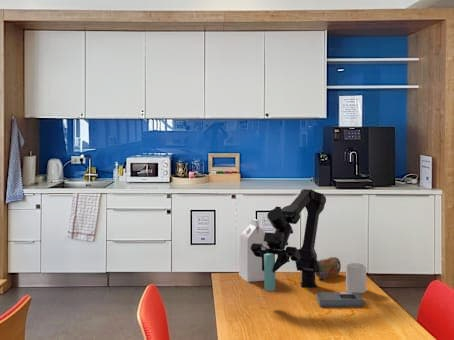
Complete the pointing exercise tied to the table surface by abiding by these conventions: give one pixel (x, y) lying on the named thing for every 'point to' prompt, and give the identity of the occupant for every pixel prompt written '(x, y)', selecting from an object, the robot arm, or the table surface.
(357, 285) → the mug
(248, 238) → the milk
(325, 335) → the table surface
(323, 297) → the flange plate
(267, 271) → the peg
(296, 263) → the robot arm
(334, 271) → the tin
